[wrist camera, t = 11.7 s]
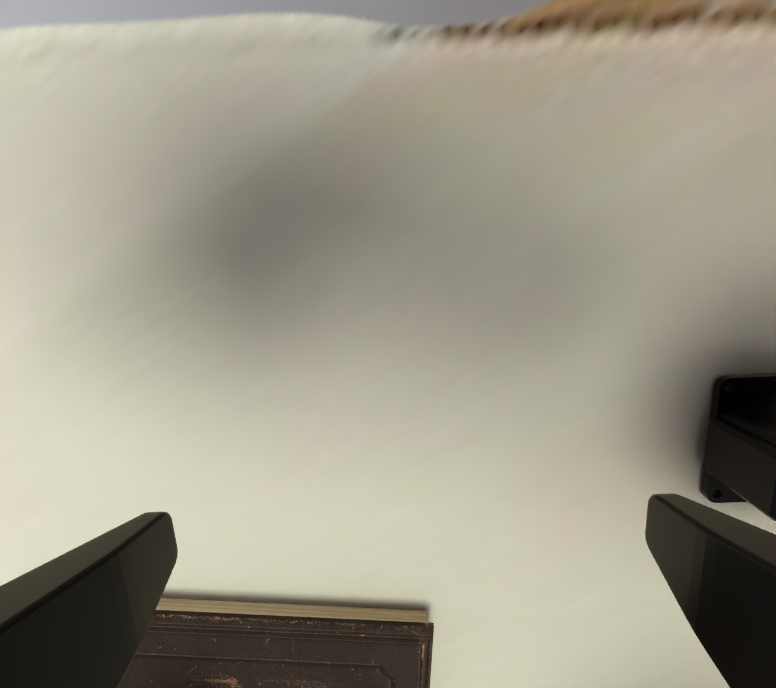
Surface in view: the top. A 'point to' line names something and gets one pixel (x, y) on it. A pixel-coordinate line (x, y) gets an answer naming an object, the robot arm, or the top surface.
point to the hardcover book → (281, 647)
